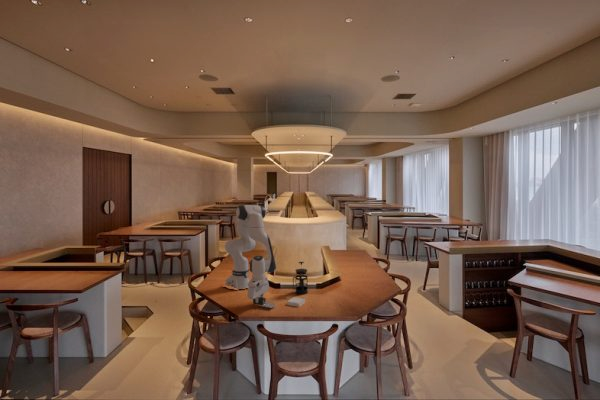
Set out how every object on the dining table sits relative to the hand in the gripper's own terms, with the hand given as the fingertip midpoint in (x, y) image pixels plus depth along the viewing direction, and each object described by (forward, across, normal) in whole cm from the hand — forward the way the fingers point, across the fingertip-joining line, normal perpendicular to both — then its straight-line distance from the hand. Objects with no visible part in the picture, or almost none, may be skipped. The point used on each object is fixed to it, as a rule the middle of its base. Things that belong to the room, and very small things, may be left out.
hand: (259, 301), depth 207 cm
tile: (+2, -14, +16) cm, 21 cm away
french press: (+3, -35, +14) cm, 38 cm away
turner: (+2, 0, +4) cm, 4 cm away
